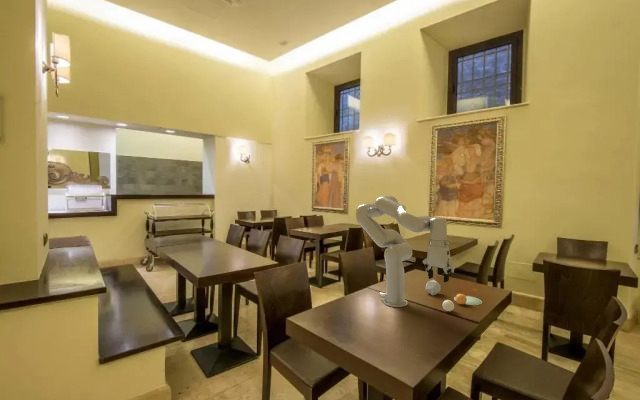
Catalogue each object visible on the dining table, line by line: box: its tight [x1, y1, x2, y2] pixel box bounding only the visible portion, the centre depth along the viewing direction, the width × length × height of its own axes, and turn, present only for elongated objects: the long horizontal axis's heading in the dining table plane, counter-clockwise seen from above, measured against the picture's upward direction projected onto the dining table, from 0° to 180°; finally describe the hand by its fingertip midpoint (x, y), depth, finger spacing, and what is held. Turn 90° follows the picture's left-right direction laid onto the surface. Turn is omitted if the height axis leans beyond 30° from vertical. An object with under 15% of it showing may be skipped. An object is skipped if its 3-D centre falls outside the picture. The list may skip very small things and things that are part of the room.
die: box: [424, 279, 442, 296], centre depth 177 cm, size 8×9×10 cm
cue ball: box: [441, 299, 455, 312], centre depth 151 cm, size 6×6×6 cm
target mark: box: [453, 295, 483, 306], centre depth 165 cm, size 14×14×1 cm
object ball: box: [455, 293, 467, 305], centre depth 160 cm, size 6×6×6 cm
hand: (438, 279), depth 145 cm, fingers open, 7 cm apart
